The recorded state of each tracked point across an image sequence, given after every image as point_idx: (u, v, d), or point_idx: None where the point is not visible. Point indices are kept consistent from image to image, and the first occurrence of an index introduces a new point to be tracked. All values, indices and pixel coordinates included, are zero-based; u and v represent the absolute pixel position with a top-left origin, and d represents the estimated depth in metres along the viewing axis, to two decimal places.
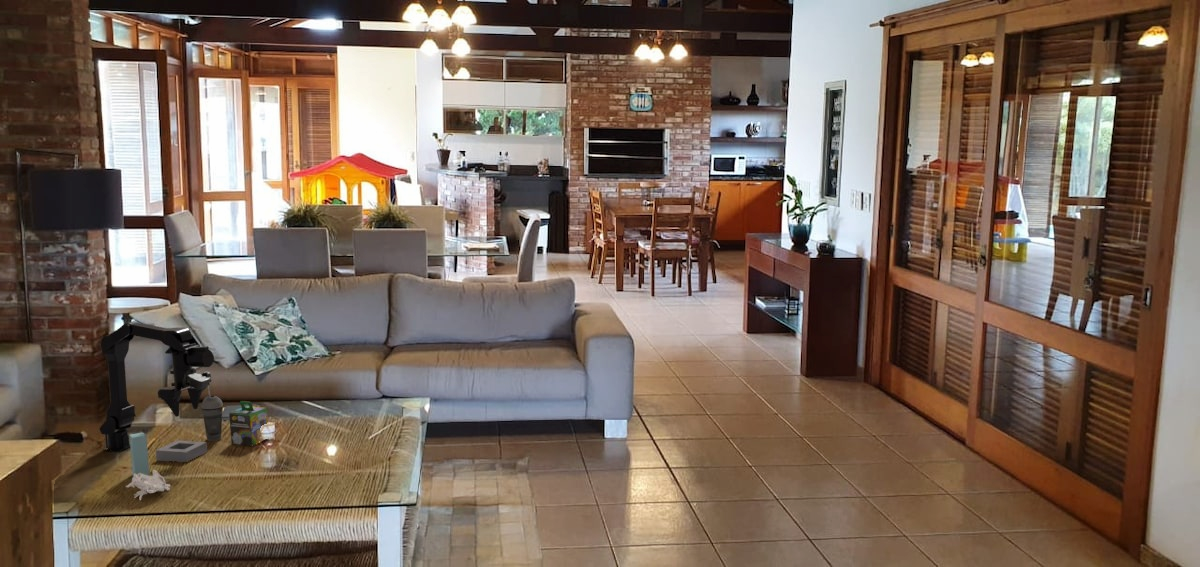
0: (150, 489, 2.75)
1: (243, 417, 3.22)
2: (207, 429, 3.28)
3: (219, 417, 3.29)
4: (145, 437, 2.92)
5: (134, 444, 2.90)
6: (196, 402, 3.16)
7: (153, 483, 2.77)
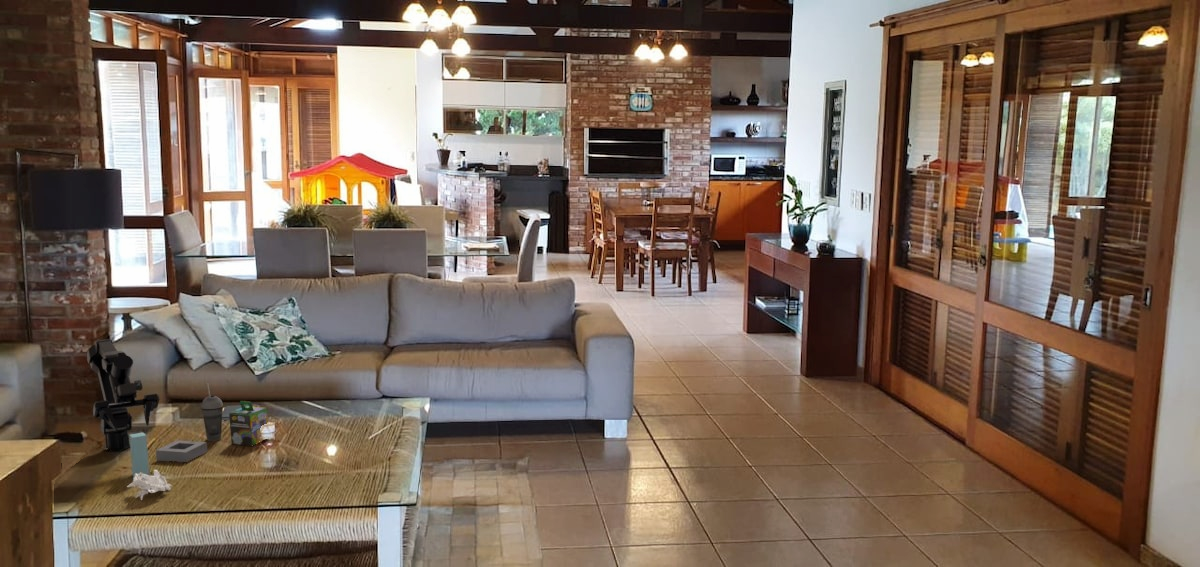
0: (151, 489, 2.75)
1: (243, 417, 3.22)
2: (207, 429, 3.28)
3: (219, 417, 3.29)
4: (145, 437, 2.92)
5: (134, 444, 2.90)
6: (146, 417, 3.02)
7: (154, 483, 2.77)
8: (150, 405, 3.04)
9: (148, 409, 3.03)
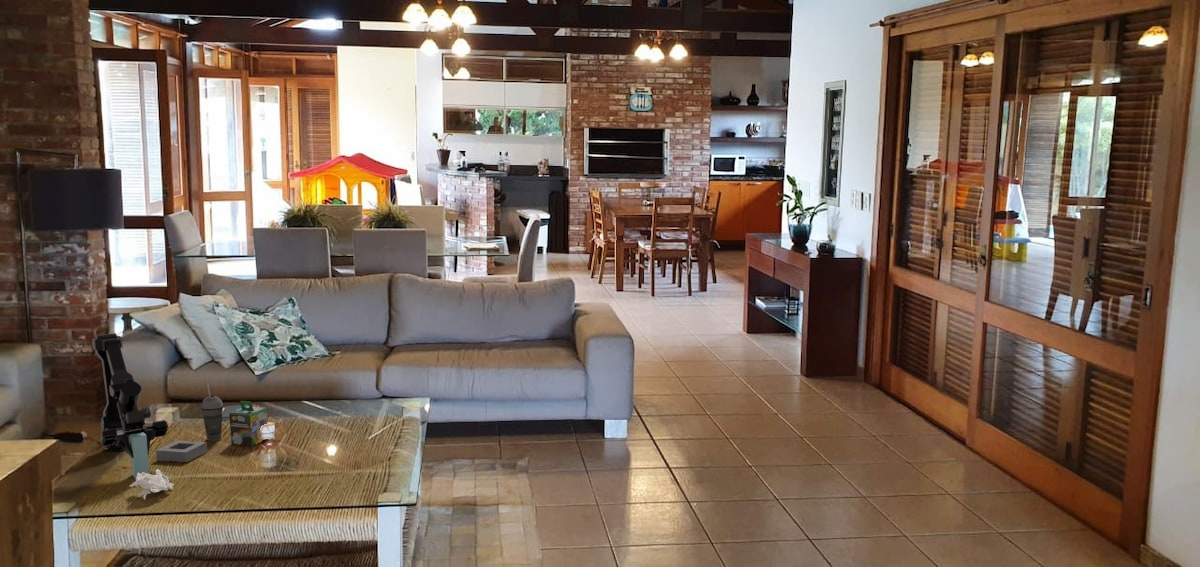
0: (154, 488, 2.76)
1: (243, 417, 3.22)
2: (207, 429, 3.28)
3: (219, 417, 3.29)
4: (145, 437, 2.92)
5: (134, 444, 2.90)
6: None
7: (157, 482, 2.77)
8: (150, 434, 2.96)
9: (148, 438, 2.95)
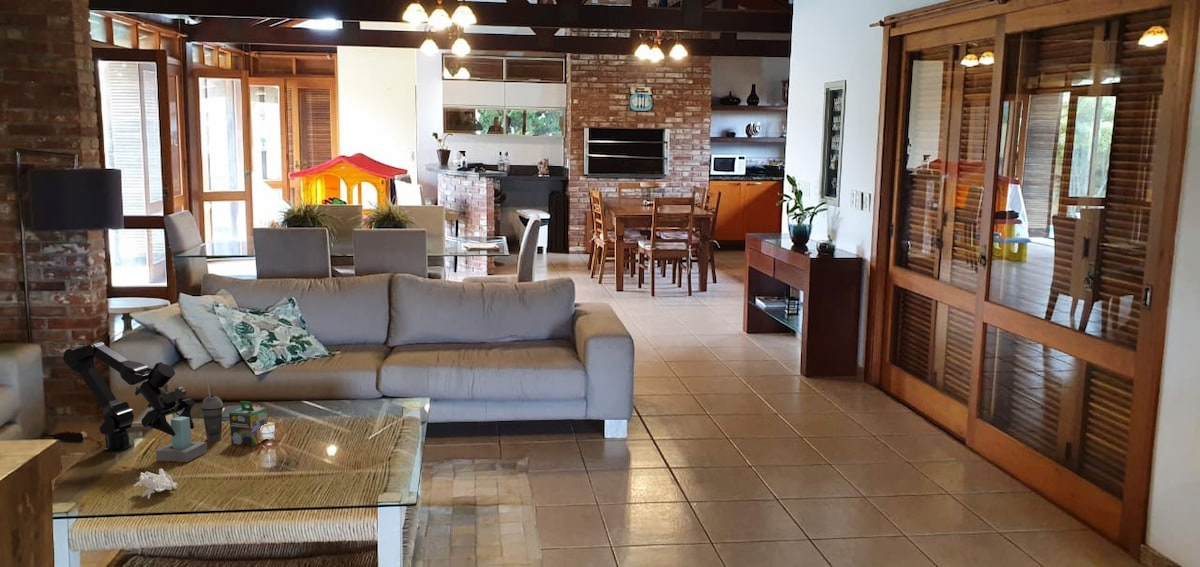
0: (158, 488, 2.76)
1: (243, 417, 3.22)
2: (207, 429, 3.28)
3: (219, 417, 3.29)
4: (188, 419, 3.11)
5: (181, 426, 3.09)
6: (190, 422, 3.14)
7: (161, 482, 2.78)
8: (189, 410, 3.16)
9: (189, 414, 3.16)
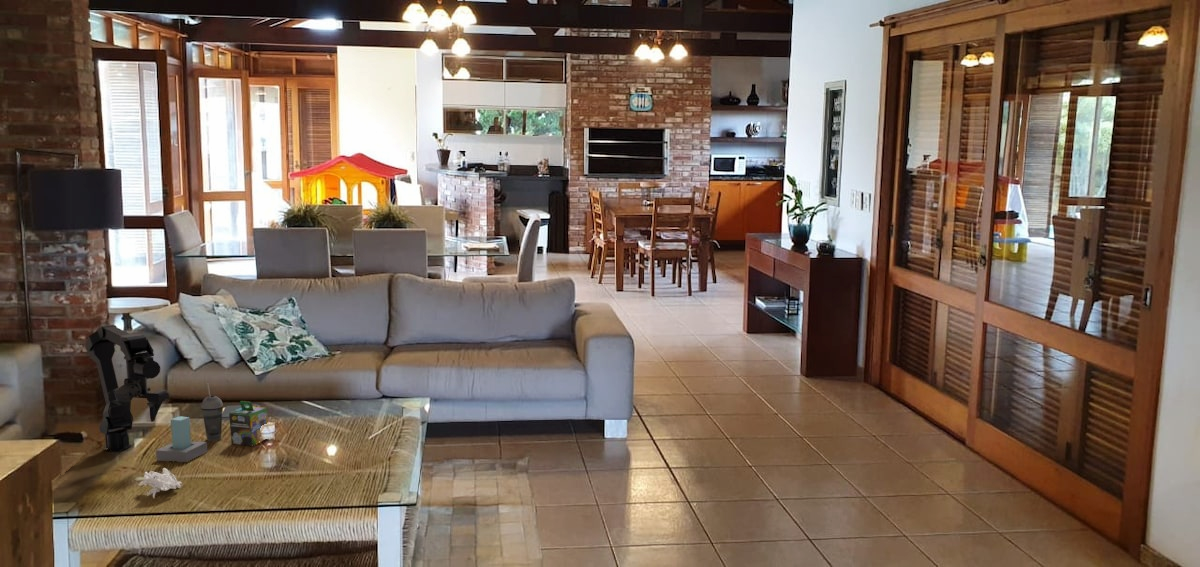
0: (163, 487, 2.77)
1: (243, 417, 3.22)
2: (207, 429, 3.28)
3: (219, 417, 3.29)
4: (188, 419, 3.11)
5: (181, 426, 3.09)
6: None
7: (165, 481, 2.79)
8: (152, 405, 3.04)
9: (151, 408, 3.05)
